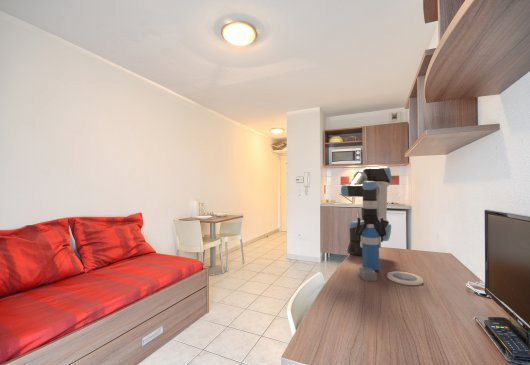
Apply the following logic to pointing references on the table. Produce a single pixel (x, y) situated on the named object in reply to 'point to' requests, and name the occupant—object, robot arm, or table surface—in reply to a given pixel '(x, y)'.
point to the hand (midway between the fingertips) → (370, 247)
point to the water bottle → (370, 247)
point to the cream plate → (404, 278)
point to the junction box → (368, 274)
